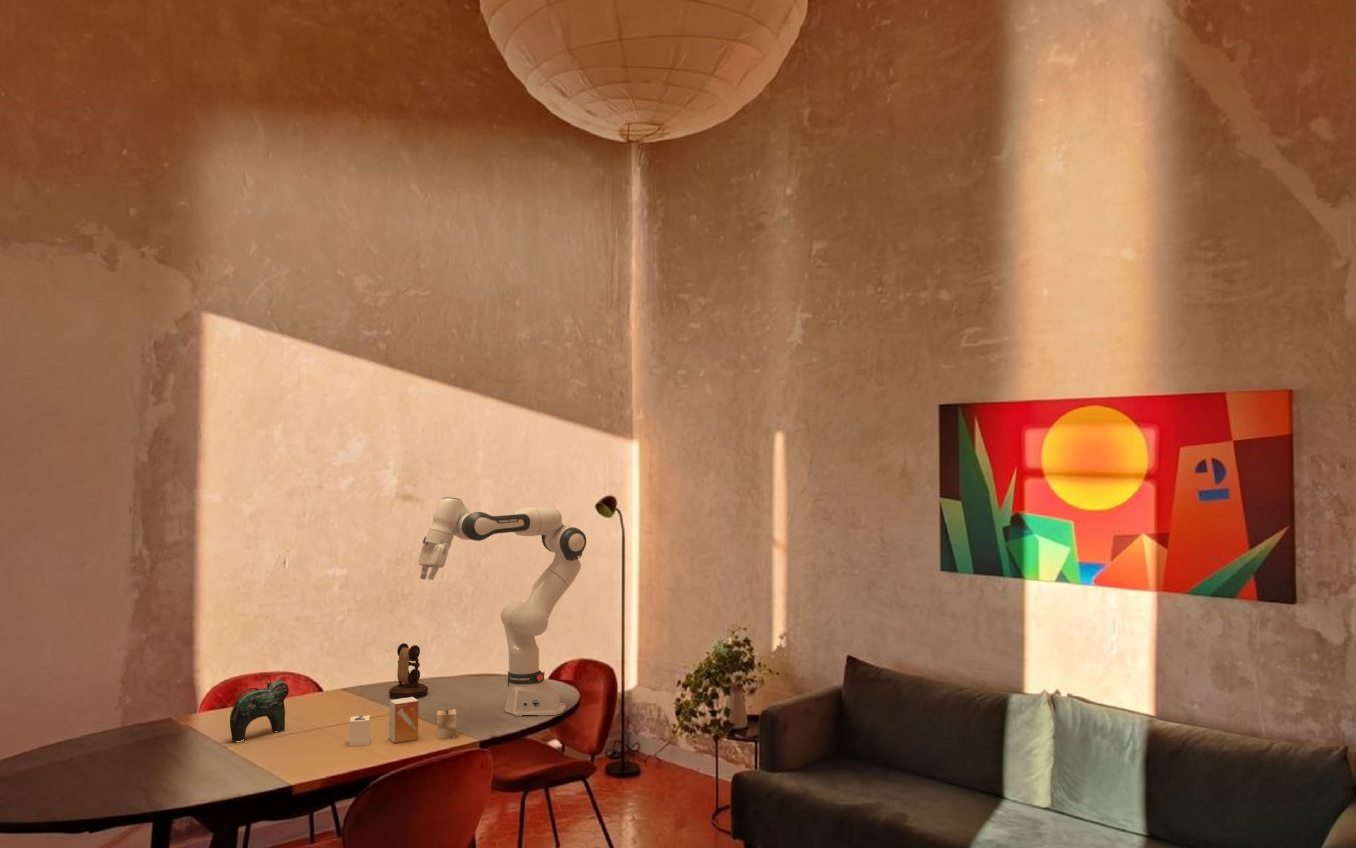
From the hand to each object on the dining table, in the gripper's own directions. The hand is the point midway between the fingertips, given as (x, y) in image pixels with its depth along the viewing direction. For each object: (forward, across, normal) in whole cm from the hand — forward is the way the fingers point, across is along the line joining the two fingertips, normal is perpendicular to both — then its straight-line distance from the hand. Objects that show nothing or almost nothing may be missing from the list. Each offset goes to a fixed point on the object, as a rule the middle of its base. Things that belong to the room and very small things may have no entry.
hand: (426, 579), depth 336 cm
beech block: (+48, -8, -21) cm, 53 cm away
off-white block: (+57, -1, +5) cm, 57 cm away
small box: (+53, -4, -8) cm, 53 cm away
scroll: (+42, +52, -23) cm, 71 cm away
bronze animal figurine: (+64, +25, +31) cm, 75 cm away
